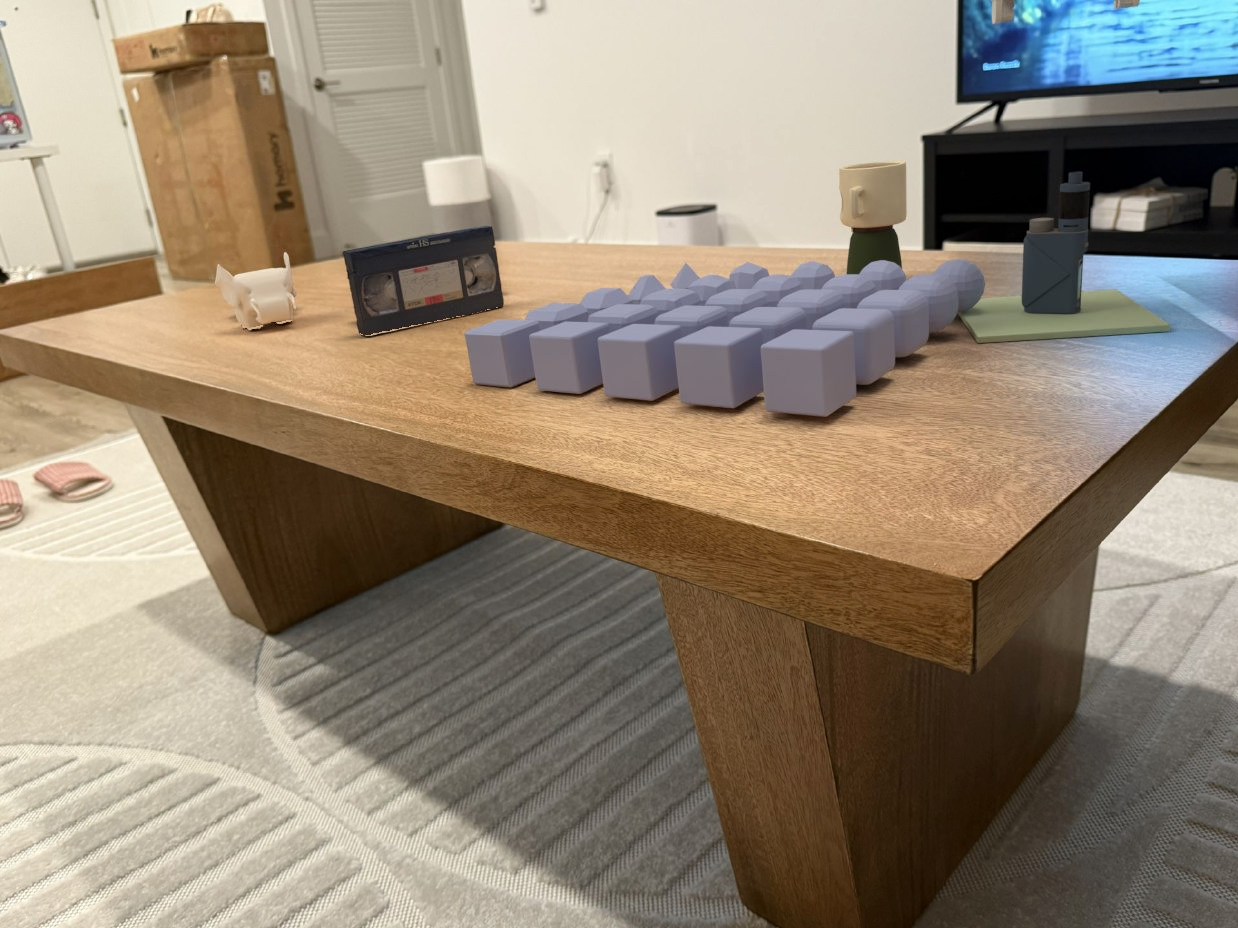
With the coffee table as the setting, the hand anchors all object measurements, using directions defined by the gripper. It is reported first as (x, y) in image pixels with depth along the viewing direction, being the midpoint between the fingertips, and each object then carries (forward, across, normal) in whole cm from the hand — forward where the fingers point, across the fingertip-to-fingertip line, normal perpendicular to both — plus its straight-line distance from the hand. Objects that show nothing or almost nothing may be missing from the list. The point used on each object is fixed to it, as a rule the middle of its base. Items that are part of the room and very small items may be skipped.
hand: (1063, 15), depth 80 cm
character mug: (+25, +14, -22) cm, 36 cm away
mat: (+25, 0, 0) cm, 25 cm away
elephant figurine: (+25, +90, -23) cm, 96 cm away
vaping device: (+25, 0, 0) cm, 25 cm away
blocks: (+25, +28, +4) cm, 38 cm away
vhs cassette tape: (+25, +66, -19) cm, 73 cm away
